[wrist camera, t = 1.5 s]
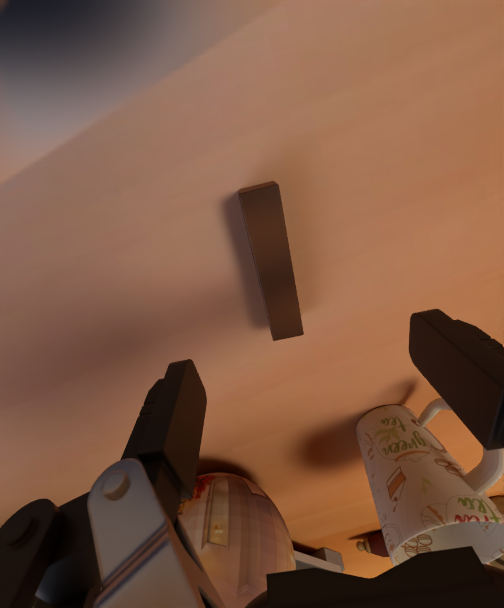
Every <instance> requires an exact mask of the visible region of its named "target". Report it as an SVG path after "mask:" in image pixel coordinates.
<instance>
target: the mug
mask: <svg viewBox="0 0 504 608" xmlns="http://www.w3.org/2000/svg"><path fill="white" fill-rule="evenodd" d="M443 409H448V410H452V409H451V408H450V407H449V405H448V404H447V403H446V402H445V401H444V399H443V398H439V399H436V400H434V401H432V402H431V403H430V404H429V405H428V406H427V407H426V408H425V410H424V411H423V412H422V413H421V415H420V417H419V418H418V417H417V416H416V415H415V414H414V413H413V412H412V411H411V410H410V409H408V408H406V407H403V406H399V405H388V406H383V407H379V408H376V409H374V410H372V411H370V412H368V413H367V414H366V415H364V416H363V417H362V418H361V419H360V421H359V422H358V424H357V427H356V434H357V439H358V443H359V446H360V450H361V454H362V458H363V461H364V465H365V469H366V473H367V476H368V480H369V484H370V488H371V491H372V495H373V499H374V503H375V506H376V510H377V514H378V518H379V521H380V525H381V529H382V533H383V536H384V540H385V544H386V547H387V551H388V554H389V557H390V559H391V561H392V563H393V565H394V566H397V565H399V564H400V563H402V562H404V561H406V560H408V559H409V558H411V557H413V556H415V555H417V554H418V553H424V552H431V551H438V550H446V549H453V548H460V547H468V546H472V547H473V549H474V551H475V552H476V554H477V556H478V557H479V559H480V561H481V562H482V564H487V563H489V562H491V561H493V560H495V559H497V558H499V557H501V556H502V555H504V515H503V513H502V512H501V511H500V510H499V509H498V508H497V507H496V505H495V504H494V503H493V502H492V501H491V500H490V499H489V498H488V496H487V495H486V494H485V493H484V492H486V491H487V490H488V489H489V488H491V487H492V486H493V485H494V484H495V483H496V482H497V481H498V480H499V479H500V478H501V477H502V475H503V473H504V448H502V449H496V450H490V451H487V450H486V449H485V448H484V447H483V458H482V461H481V462H480V463H479V465H478V466H476V467H475V468H474V469H473V470H471V471H470V472H469V473H468V474H467V473H466V471H465V470H464V469H463V468H462V467H461V466H460V465H459V463H458V462H457V461H456V460H455V459H454V458H453V457H452V455H451V454H450V453H449V452H448V451H447V450H446V449H445V447H444V446H443V445H442V444H441V443H440V442H439V441H438V440H437V438H436V437H435V436H434V435H433V434H432V433H431V432H430V430H429V429H428V428H427V427H426V426H425V425H426V424H427V423H428V422H429V421H430V420H431V419H432V418H433V417H434V416H435V415H436V414H437V413H438V412H439V411H440V410H443Z"/></svg>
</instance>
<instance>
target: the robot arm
mask: <svg viewBox="0 0 504 608" xmlns="http://www.w3.org/2000/svg"><path fill="white" fill-rule="evenodd" d="M409 354H410V357H411V359H412V362H413V363H414V365H415V366H416V367H417V369H418V370H419V371H420V372H421V373H422V375H423V376H424V377H425V378H426V379H427V380H428V382H429V383H430V384H431V385H432V386H433V388H434V389H435V390H436V391H437V392H438V393H439V395H440V396H441V397H442V398H443V399H444V401H445V402H446V403H447V404H448V405H449V407H450V408H451V409H452V410H453V411H454V412H455V414H456V415H457V416H458V417H459V418H460V420H461V421H462V422H463V423H464V424H465V425H466V427H467V428H468V429H469V430H470V431H471V433H472V434H473V435H474V436H475V437H476V439H477V440H478V441H479V442H480V443H481V444H482V446H483V447H484V448H485V449H486V450H487V451H490V450H496V449H502V448H504V347H503V346H502V344H500V343H499V342H497V341H496V340H495V339H491V337H490V336H489V335H487V334H486V333H485V332H483V331H482V330H480V329H479V328H478V327H476V326H473V325H471V324H468V323H466V322H463V321H461V320H453V319H451V318H450V317H449V316H447V315H446V314H445V313H443V312H442V311H441V310H439V309H432V310H427V311H423V312H418V313H413V314H412V315H411V318H410V334H409ZM206 405H207V398H206V392H205V388H204V386H203V384H202V381H201V379H200V377H199V374H198V372H197V370H196V367H195V365H194V363H193V361H192V360H191V359H188V360H183V361H178V362H173V363H170V364H169V366H168V369H167V371H166V374H165V377H164V379H159V380H158V381H157V382H156V383H155V384H154V385H153V387H152V388H151V389H150V390H149V392H148V394H147V397H146V399H145V402H144V406H142V409H141V411H140V414H139V415H140V416H139V417H138V419H137V421H136V423H135V426H134V428H133V431H132V433H131V436H130V438H129V441H128V443H127V445H126V448H125V450H124V453H123V455H122V458H121V460H120V461H118V462H116V463H114V464H113V465H111V466H110V467H108V468H107V469H106V470H105V471H104V472H103V473H102V474H101V475H100V476H99V477H98V479H97V480H96V481H95V483H94V484H93V486H92V488H91V490H90V491H89V492H88V493H86V494H84V495H82V496H80V497H77V498H75V499H73V500H71V501H69V502H67V503H65V504H63V505H61V506H59V507H57V506H56V505H55V504H54V503H53V502H51V501H50V500H48V499H38V500H35V501H33V502H31V503H29V504H27V505H25V506H24V507H22V508H21V509H20V510H18V511H17V512H16V513H15V514H13V515H12V516H11V517H10V518H9V519H8V520H7V521H6V522H5V523H4V525H3V526H2V527H1V528H0V608H30V605H31V603H32V601H33V599H34V596H37V597H38V598H39V599H38V601H37V603H36V606H35V608H226V607H225V605H224V603H223V601H222V599H221V598H220V596H219V594H218V592H217V591H216V589H215V587H214V586H213V584H212V582H211V580H210V579H209V577H208V575H207V573H206V571H205V569H204V567H203V565H202V563H201V561H200V559H199V557H198V555H197V552H196V550H195V548H194V546H193V544H192V542H191V540H190V538H189V536H188V534H187V532H186V530H185V528H184V526H183V524H182V522H181V520H180V518H179V516H178V514H177V512H178V507H179V501H180V500H182V499H188V498H193V492H194V485H195V478H196V472H197V465H198V458H199V452H200V445H201V438H202V432H203V425H204V418H205V412H206ZM266 578H267V590H266V591H265V592H263V593H261V594H260V595H258V596H257V597H256V598H254V599H253V600H252V601H251V602H249V603H248V604H247V606H246V607H245V608H504V569H501V568H497V567H494V566H491V565H487V564H482V562H481V561H480V559H479V557H478V556H477V554H476V552H475V551H474V549H473V547H472V546H468V547H460V548H453V549H446V550H438V551H431V552H424V553H418V554H417V555H415V556H413V557H411V558H409V559H408V560H406V561H404V562H402V563H400V564H399V565H397V566H395V567H393V568H391V569H390V570H388V571H386V572H384V573H382V574H381V575H379V576H377V577H375V578H370V579H369V578H362V577H358V576H353V575H348V574H343V573H339V572H334V571H329V570H324V569H319V568H315V567H314V568H307V569H300V570H292V571H285V572H278V573H270V574H266ZM101 587H102V589H101ZM100 590H101V591H100Z"/></svg>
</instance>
